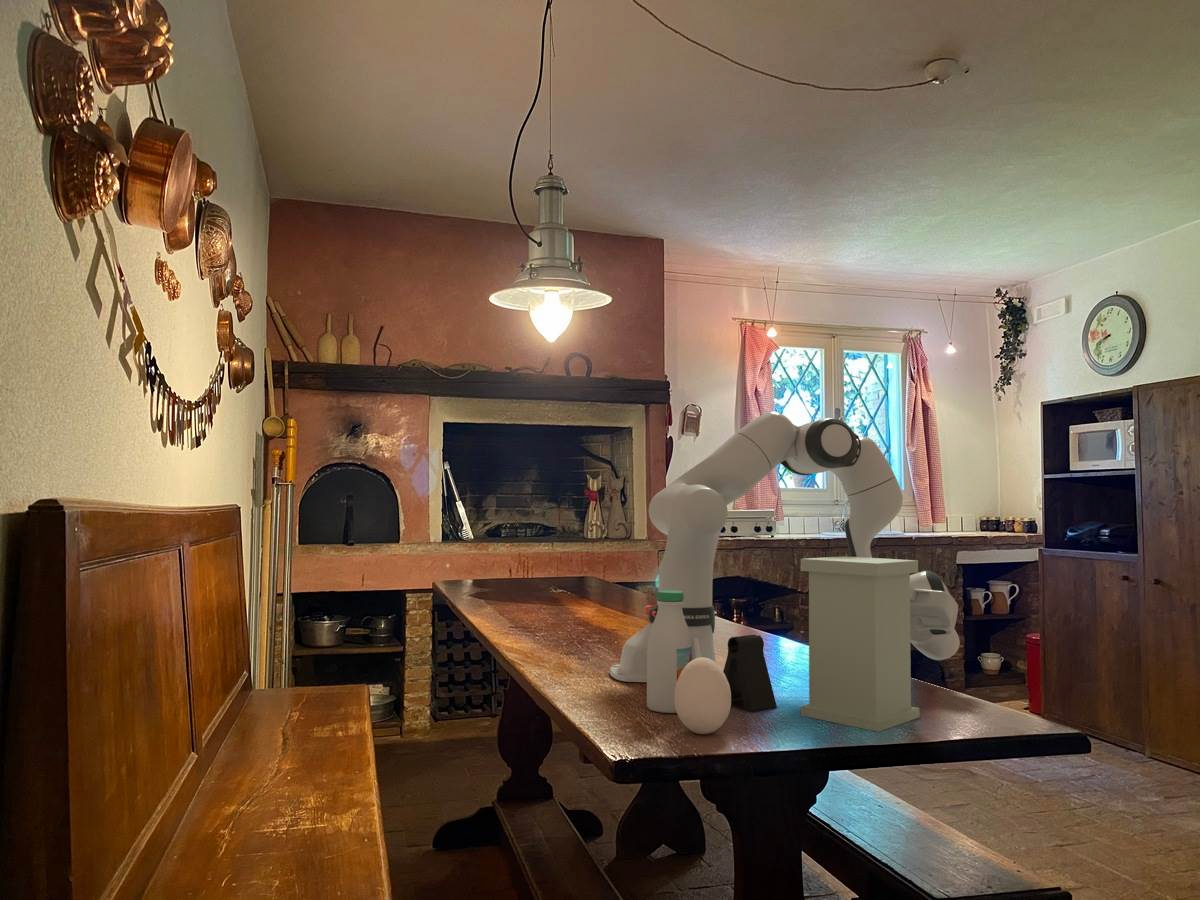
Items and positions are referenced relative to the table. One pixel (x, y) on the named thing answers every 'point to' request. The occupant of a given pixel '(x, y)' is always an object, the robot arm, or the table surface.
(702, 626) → the robot arm
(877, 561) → the pedestal stand
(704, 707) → the egg
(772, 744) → the table surface
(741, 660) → the phone stand
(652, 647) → the milk bottle
